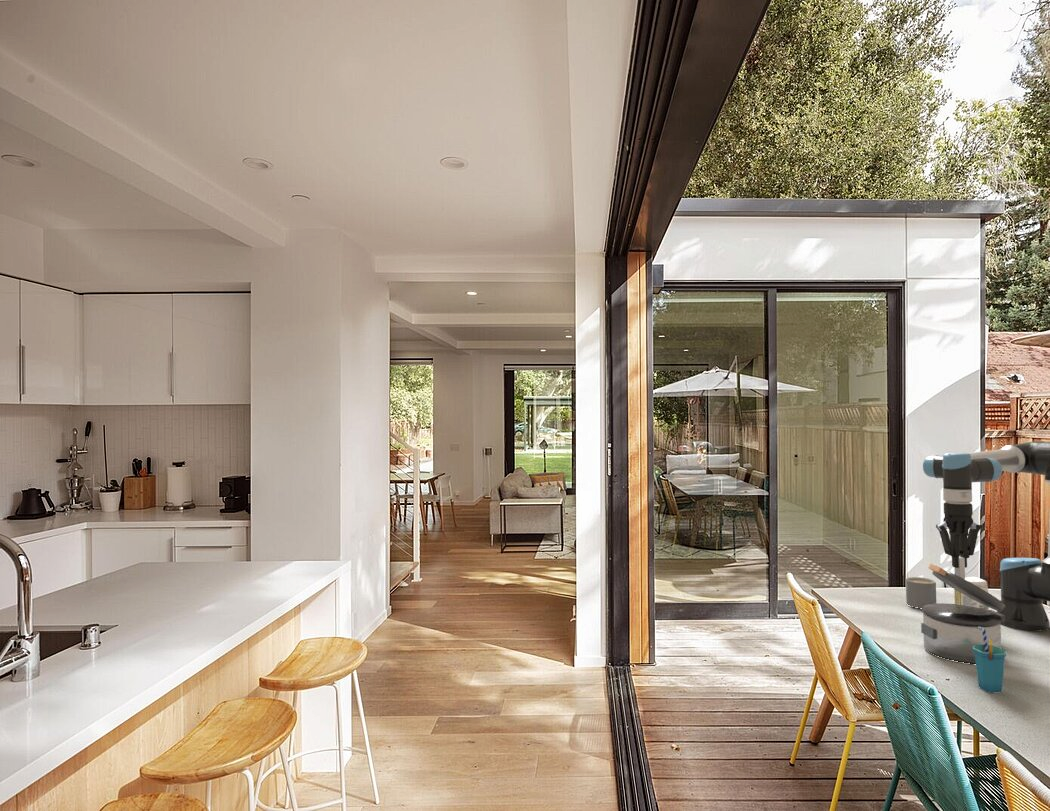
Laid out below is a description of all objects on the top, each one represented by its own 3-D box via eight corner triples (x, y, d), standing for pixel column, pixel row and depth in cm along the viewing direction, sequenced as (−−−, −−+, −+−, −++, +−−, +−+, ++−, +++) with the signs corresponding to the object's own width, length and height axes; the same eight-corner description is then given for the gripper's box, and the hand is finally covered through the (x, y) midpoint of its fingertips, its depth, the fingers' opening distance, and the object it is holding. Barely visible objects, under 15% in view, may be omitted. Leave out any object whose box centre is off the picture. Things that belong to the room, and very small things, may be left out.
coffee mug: (937, 611, 243) (936, 584, 243) (906, 607, 248) (905, 581, 248) (935, 602, 255) (934, 576, 255) (906, 598, 260) (905, 574, 260)
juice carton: (992, 639, 212) (991, 581, 213) (965, 639, 213) (964, 581, 213) (977, 631, 220) (976, 575, 220) (951, 631, 220) (950, 576, 221)
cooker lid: (971, 600, 211) (977, 591, 211) (1017, 619, 191) (1023, 609, 191) (913, 563, 211) (919, 554, 211) (953, 578, 191) (959, 568, 191)
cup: (964, 675, 184) (963, 622, 184) (997, 679, 181) (995, 625, 181) (980, 696, 171) (979, 639, 171) (1015, 700, 168) (1014, 642, 168)
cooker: (976, 641, 211) (975, 603, 211) (1024, 665, 190) (1022, 623, 190) (908, 642, 211) (907, 603, 211) (949, 666, 190) (947, 624, 191)
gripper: (944, 504, 198) (946, 581, 197) (987, 503, 198) (989, 580, 197) (929, 501, 205) (931, 575, 205) (970, 500, 205) (972, 574, 205)
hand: (959, 577), depth 201 cm, fingers closed
